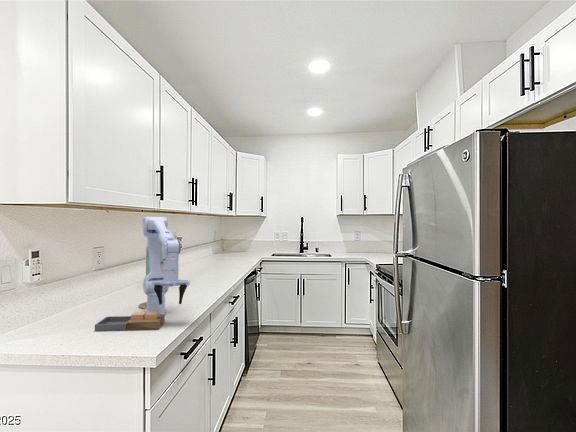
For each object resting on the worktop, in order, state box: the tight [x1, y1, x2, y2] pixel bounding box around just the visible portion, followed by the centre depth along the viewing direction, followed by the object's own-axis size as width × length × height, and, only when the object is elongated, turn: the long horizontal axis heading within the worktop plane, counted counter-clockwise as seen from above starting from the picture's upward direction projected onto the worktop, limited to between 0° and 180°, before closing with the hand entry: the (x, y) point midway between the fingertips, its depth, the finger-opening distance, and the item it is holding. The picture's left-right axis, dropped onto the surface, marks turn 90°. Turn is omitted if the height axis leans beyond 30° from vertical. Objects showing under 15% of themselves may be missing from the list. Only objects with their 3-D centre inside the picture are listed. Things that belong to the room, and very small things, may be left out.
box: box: [94, 315, 131, 332], centre depth 142 cm, size 12×11×2 cm
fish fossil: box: [138, 301, 147, 310], centre depth 185 cm, size 26×10×1 cm, turn 6°
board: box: [126, 313, 166, 332], centre depth 144 cm, size 12×12×3 cm
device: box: [145, 239, 164, 280], centre depth 235 cm, size 16×8×30 cm, turn 104°
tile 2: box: [145, 311, 159, 320], centre depth 144 cm, size 4×4×2 cm
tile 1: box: [130, 311, 147, 320], centre depth 144 cm, size 4×4×2 cm
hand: (170, 303), depth 145 cm, fingers open, 7 cm apart
